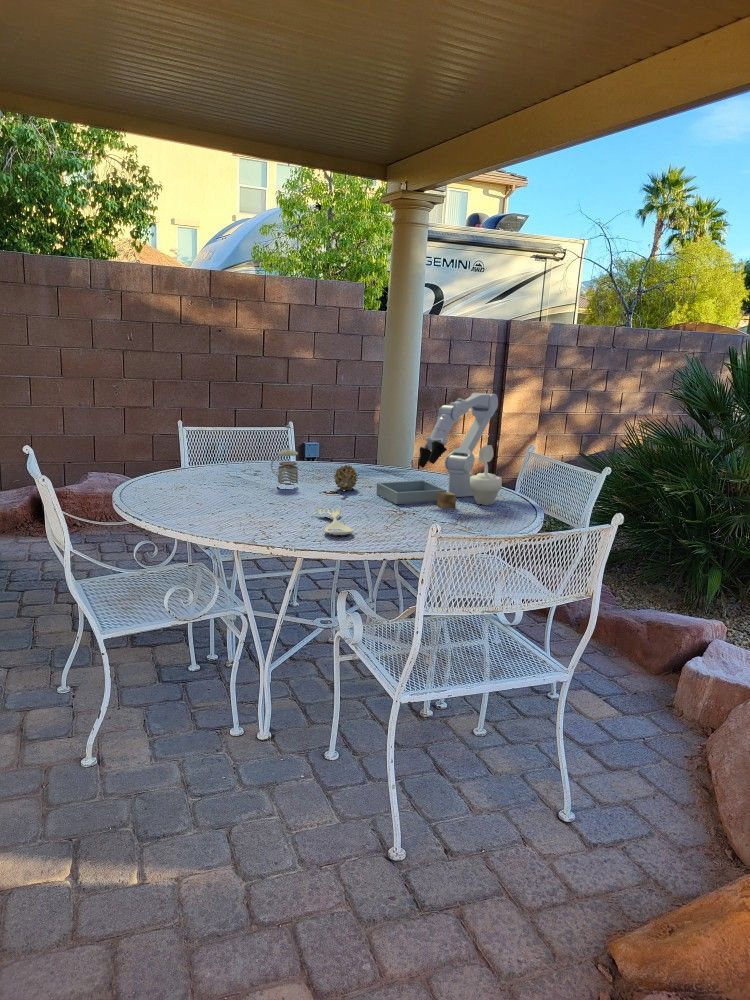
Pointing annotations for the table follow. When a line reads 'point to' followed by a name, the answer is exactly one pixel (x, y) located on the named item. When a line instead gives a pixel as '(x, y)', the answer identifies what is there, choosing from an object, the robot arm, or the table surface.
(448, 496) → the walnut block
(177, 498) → the table surface
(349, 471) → the pine cone
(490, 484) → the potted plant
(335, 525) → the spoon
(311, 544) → the table surface
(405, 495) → the slate bin
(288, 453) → the french press
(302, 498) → the table surface
